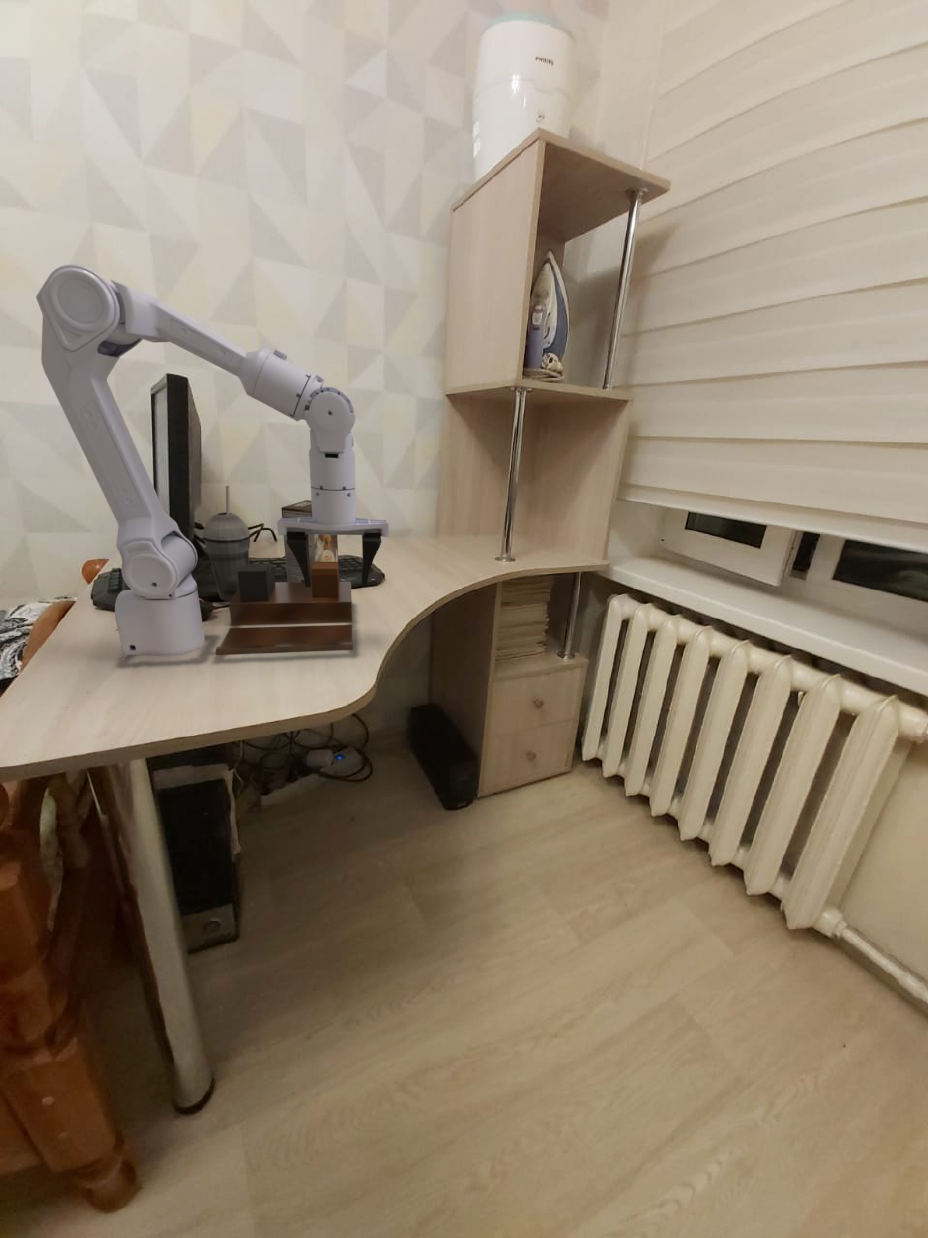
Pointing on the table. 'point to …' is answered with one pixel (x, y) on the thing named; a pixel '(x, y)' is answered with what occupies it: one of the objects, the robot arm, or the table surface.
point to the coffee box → (319, 545)
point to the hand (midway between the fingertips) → (336, 584)
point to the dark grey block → (256, 582)
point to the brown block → (325, 579)
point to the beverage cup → (227, 549)
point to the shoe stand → (290, 621)
